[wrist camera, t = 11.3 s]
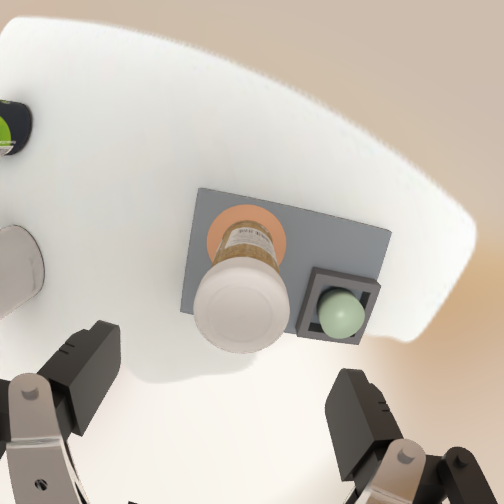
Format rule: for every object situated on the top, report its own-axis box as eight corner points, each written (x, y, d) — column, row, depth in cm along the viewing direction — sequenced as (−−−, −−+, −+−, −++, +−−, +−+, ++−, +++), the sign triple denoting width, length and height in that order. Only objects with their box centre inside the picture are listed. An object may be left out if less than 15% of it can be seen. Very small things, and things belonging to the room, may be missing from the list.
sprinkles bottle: (211, 249, 27) (173, 322, 14) (242, 208, 26) (229, 247, 13) (252, 279, 27) (251, 371, 14) (284, 240, 26) (311, 307, 13)
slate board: (181, 308, 29) (175, 320, 27) (200, 187, 26) (194, 189, 24) (351, 338, 30) (358, 351, 27) (388, 230, 27) (399, 236, 24)
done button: (311, 323, 28) (315, 335, 25) (323, 285, 26) (328, 295, 24) (349, 329, 28) (355, 341, 26) (363, 292, 27) (370, 302, 24)
